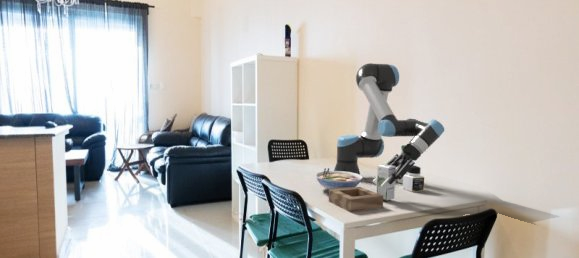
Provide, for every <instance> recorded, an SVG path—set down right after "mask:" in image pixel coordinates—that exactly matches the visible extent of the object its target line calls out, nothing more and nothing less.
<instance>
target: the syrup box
mask: <svg viewBox="0 0 579 258" xmlns="http://www.w3.org/2000/svg"><path fill="white" fill-rule="evenodd" d="M386 164H387V163H384V164H379V165H377V174H376V175H377V176H376V177H377V185H376V193H378V194H380V195H383V201H391V200H393V199H395V195H396V194H395V193H396V192H395V189H396V187H395V186H396V180H395V181H394V182H393V183H392V184H391V185H390V186H389V187H388V188H387V189H386V190H384V189H383V188H382V187H381V185H382V184H383V183H384V182H385V181H386V180H387V179H388V178H389V176H390V175H391V174H394V172H395V171H396V169H397V167H396V166H391V165H386Z"/></svg>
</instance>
